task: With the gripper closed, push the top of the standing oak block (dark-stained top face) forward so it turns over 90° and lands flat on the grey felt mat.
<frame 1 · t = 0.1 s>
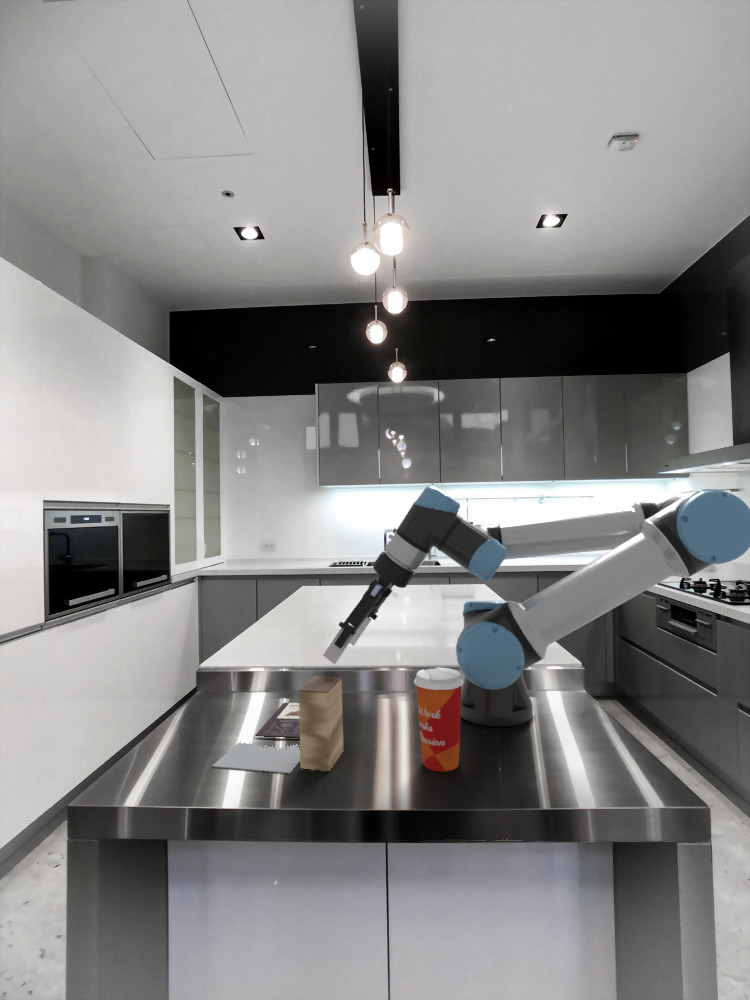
hand: (339, 649, 112), 15 cm above the countertop, tool tilted 35°, fingers open, 13 cm apart
coffee cup: (441, 765, 96), on the countertop
oak block: (322, 759, 98), on the countertop
chocolate bar: (291, 724, 117), on the countertop
felt mat: (265, 754, 101), on the countertop
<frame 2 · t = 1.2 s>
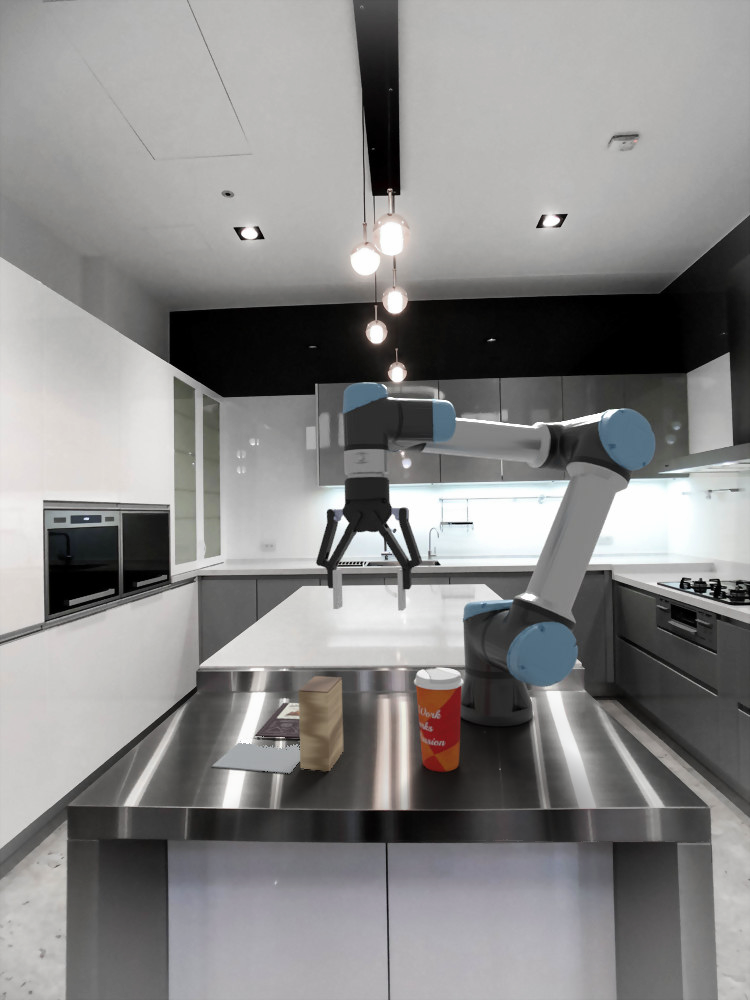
hand: (369, 608, 97), 26 cm above the countertop, tool pointing down, fingers open, 10 cm apart
nothing on the countertop moved.
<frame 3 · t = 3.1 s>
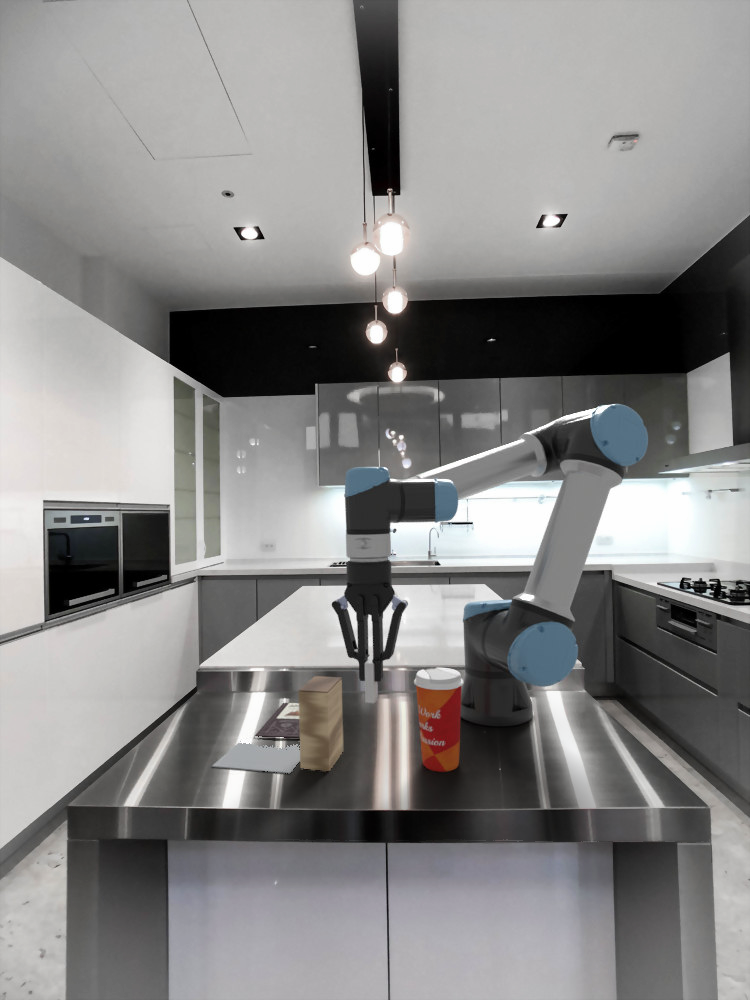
hand: (371, 700, 96), 11 cm above the countertop, tool pointing down, fingers closed
nothing on the countertop moved.
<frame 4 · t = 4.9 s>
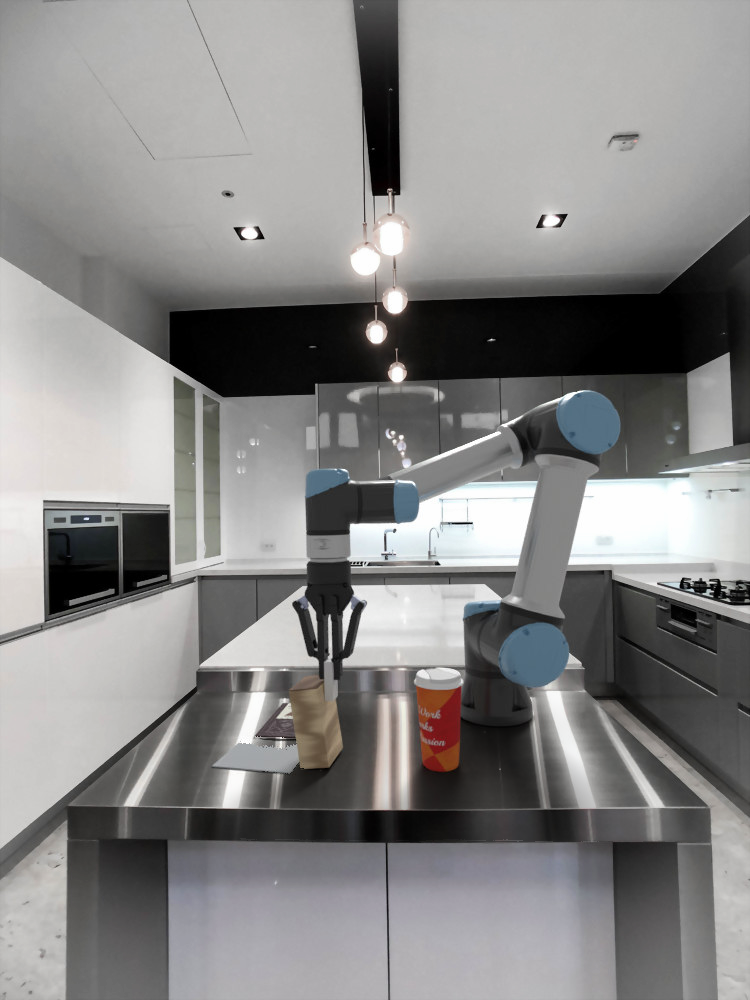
hand: (331, 698, 98), 11 cm above the countertop, tool pointing down, fingers closed
oak block: (322, 757, 98), on the countertop, tilted 8°, touching gripper
everything else where it was.
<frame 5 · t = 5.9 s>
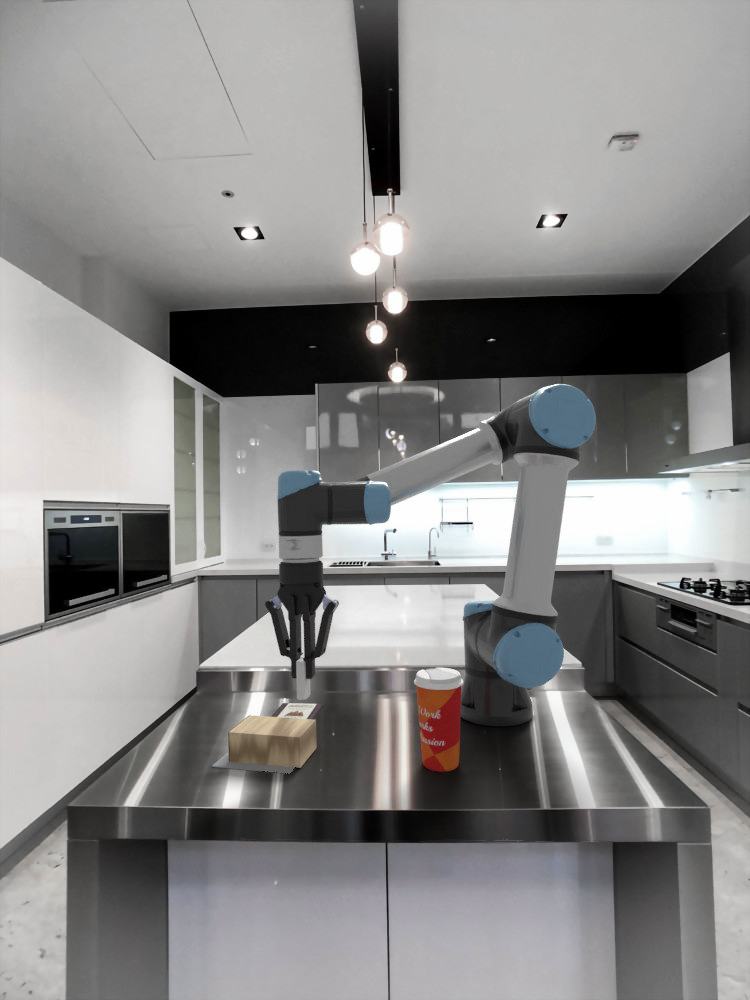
hand: (303, 697, 99), 11 cm above the countertop, tool pointing down, fingers closed
oak block: (308, 742, 99), point 3 cm above the countertop, tilted 90°, touching felt mat
everything else where it was.
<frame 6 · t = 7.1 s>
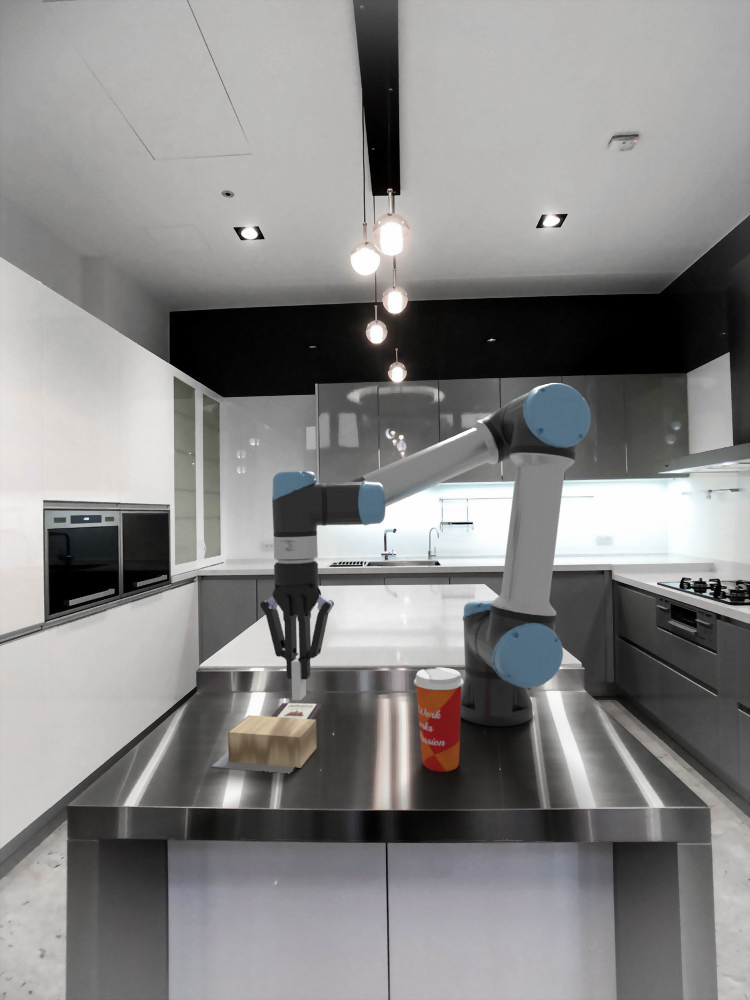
hand: (299, 697, 99), 10 cm above the countertop, tool pointing down, fingers closed
nothing on the countertop moved.
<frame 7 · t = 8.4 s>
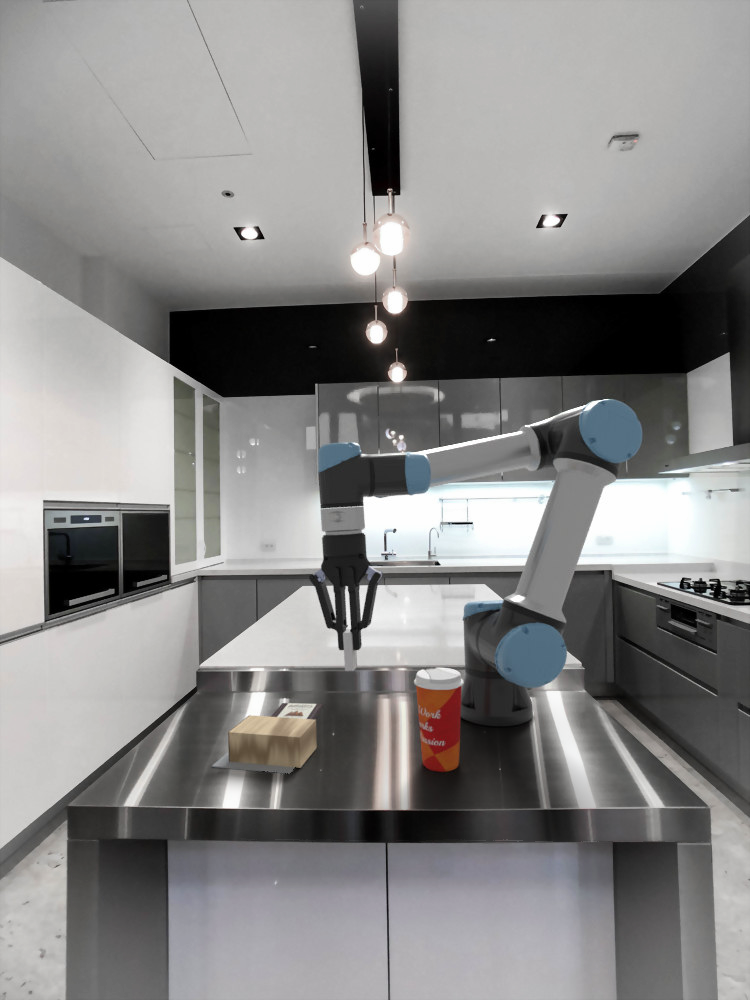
hand: (351, 668, 100), 15 cm above the countertop, tool pointing down, fingers closed
nothing on the countertop moved.
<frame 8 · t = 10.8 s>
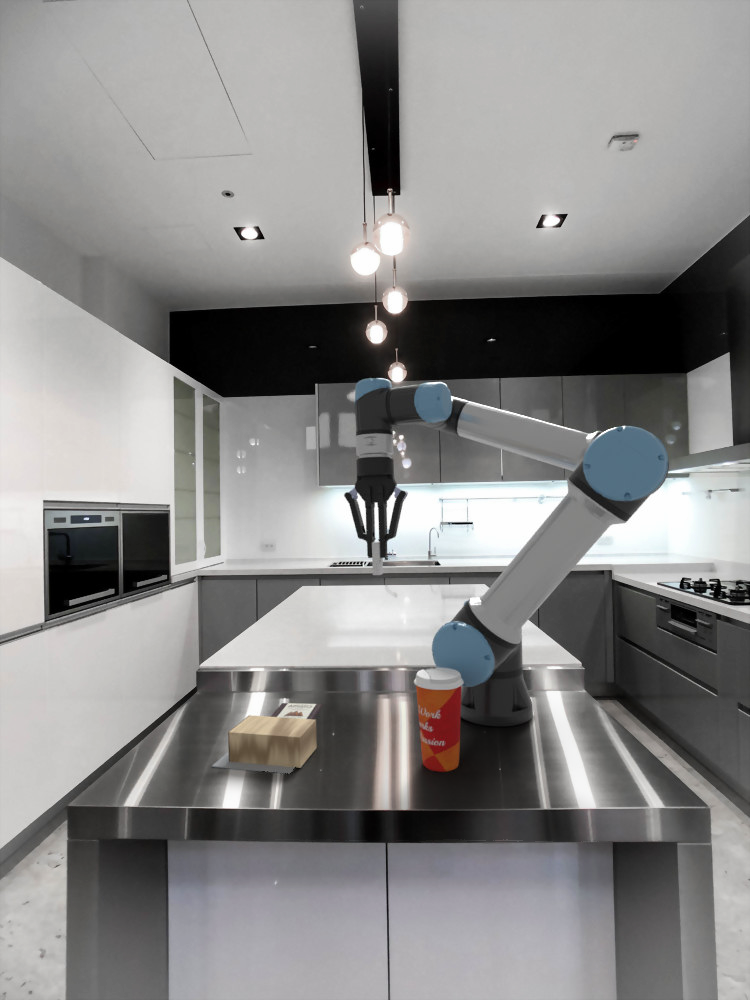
hand: (377, 574, 116), 29 cm above the countertop, tool pointing down, fingers closed
nothing on the countertop moved.
at the end: oak block tilted 90°; oak block inside the target area (4.0 cm from its centre), point 2.7 cm above the countertop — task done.
